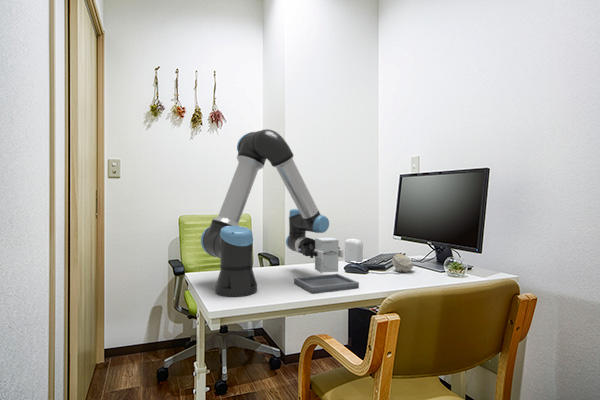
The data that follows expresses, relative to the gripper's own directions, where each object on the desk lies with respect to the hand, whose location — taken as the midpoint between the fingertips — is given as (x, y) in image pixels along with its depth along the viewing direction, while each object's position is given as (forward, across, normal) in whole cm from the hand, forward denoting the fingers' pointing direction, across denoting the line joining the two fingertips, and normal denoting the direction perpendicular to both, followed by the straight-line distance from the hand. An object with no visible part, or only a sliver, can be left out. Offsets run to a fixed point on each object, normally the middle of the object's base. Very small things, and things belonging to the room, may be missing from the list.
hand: (332, 254), depth 143 cm
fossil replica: (-15, -46, -14) cm, 50 cm away
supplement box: (-5, 0, -7) cm, 9 cm away
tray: (-5, 0, -13) cm, 14 cm away
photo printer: (-41, -36, -14) cm, 56 cm away
